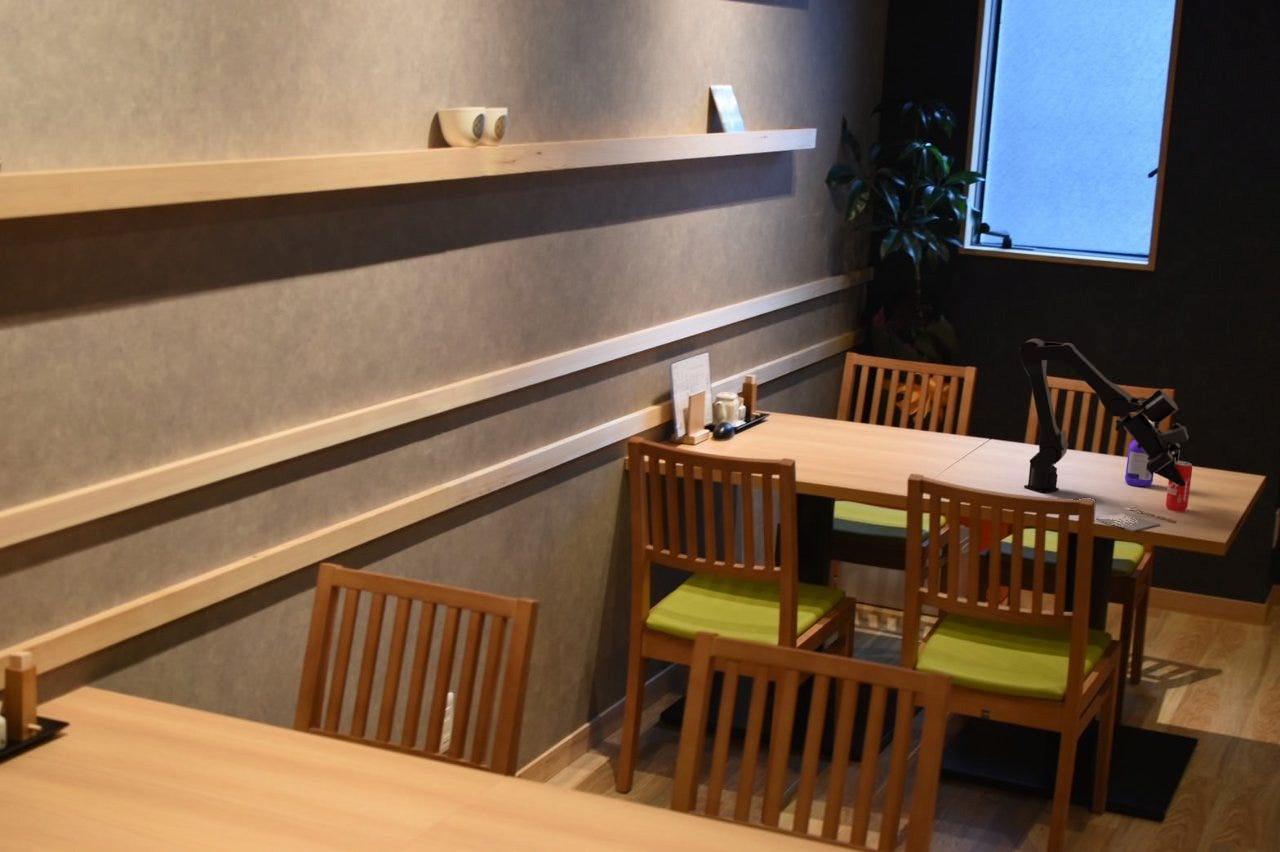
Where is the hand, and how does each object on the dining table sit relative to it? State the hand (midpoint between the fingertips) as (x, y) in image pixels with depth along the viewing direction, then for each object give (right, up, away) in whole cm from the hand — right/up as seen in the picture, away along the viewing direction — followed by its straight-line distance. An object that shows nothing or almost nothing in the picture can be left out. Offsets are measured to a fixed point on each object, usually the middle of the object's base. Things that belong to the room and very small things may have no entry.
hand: (1185, 483), depth 381 cm
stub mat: (-18, -9, -12) cm, 24 cm away
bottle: (-3, -2, +25) cm, 26 cm away
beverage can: (-2, -7, +2) cm, 7 cm away
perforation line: (-10, -8, -4) cm, 14 cm away
